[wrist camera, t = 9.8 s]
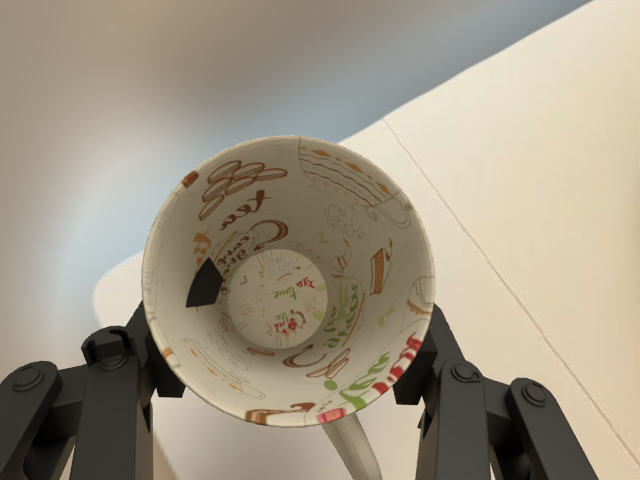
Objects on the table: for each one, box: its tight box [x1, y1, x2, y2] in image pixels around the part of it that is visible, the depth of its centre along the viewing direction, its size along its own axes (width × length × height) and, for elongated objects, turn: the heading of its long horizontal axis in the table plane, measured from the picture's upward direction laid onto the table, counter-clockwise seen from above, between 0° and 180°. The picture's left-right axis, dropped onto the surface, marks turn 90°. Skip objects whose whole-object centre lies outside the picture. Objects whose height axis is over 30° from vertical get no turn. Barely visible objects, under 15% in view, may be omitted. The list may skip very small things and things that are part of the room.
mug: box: [141, 136, 435, 480], centre depth 14 cm, size 8×13×10 cm, turn 27°
